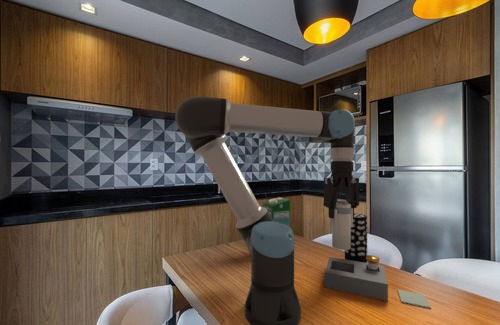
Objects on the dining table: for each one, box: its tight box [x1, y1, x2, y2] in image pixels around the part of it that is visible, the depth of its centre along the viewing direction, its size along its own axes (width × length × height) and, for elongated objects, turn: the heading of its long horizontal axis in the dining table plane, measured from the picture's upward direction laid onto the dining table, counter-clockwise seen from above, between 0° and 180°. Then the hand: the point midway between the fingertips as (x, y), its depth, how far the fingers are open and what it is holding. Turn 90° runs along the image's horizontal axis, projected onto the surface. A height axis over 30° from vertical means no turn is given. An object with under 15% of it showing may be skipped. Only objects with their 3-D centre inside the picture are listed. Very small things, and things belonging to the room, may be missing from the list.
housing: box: [324, 256, 389, 302], centre depth 79 cm, size 14×18×5 cm
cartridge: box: [331, 199, 351, 251], centre depth 81 cm, size 6×6×16 cm
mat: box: [397, 289, 432, 310], centre depth 70 cm, size 7×7×1 cm
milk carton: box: [262, 196, 291, 228], centre depth 106 cm, size 9×9×25 cm
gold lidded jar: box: [366, 254, 380, 272], centre depth 79 cm, size 4×4×6 cm
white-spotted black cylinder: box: [344, 213, 368, 263], centre depth 93 cm, size 8×8×20 cm
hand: (341, 226), depth 81 cm, fingers closed on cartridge, 6 cm apart
